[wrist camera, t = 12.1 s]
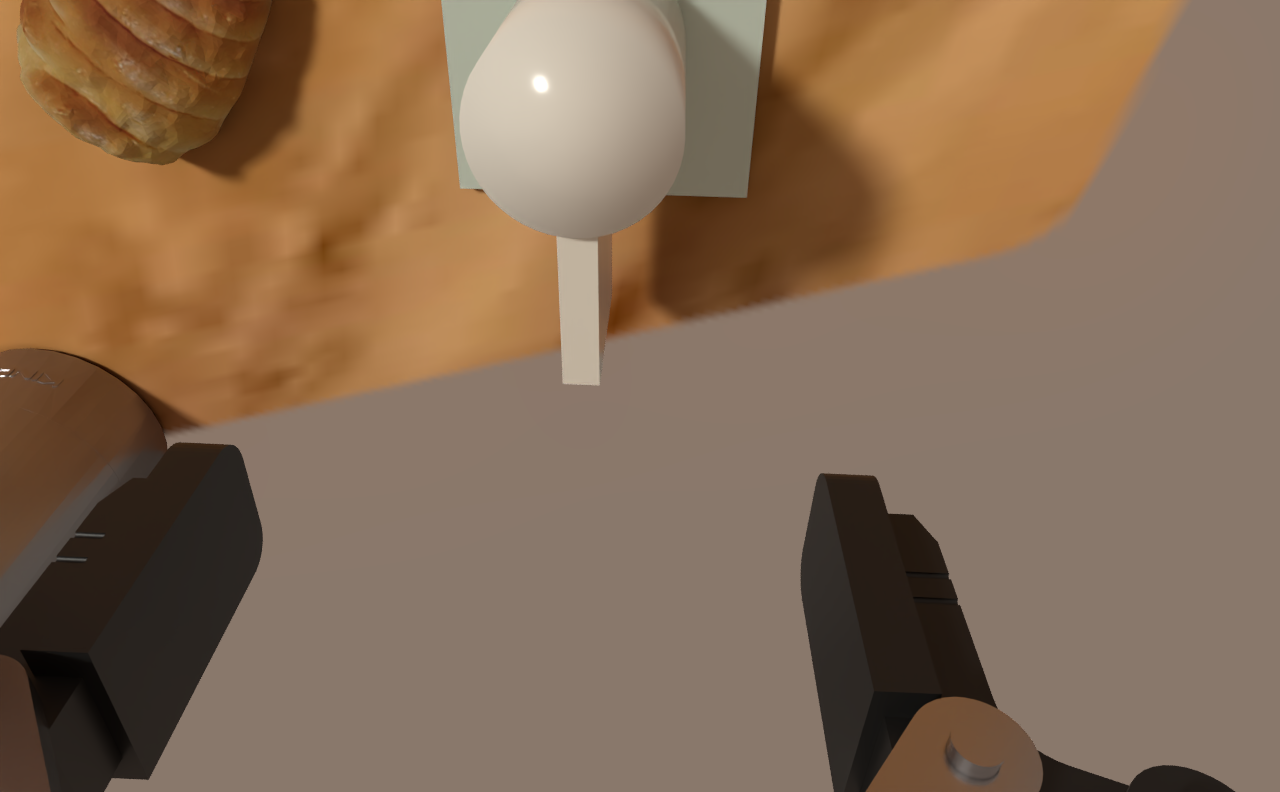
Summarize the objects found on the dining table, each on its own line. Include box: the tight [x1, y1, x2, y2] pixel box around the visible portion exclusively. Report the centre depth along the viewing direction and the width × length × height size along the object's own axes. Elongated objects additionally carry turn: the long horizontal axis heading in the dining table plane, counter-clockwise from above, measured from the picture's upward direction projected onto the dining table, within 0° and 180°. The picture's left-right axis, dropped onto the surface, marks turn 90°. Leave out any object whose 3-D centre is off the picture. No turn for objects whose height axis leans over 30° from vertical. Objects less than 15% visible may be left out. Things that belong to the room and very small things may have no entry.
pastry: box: [17, 0, 272, 165], centre depth 30 cm, size 9×7×4 cm
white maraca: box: [459, 0, 686, 385], centre depth 29 cm, size 12×6×9 cm, turn 179°
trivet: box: [441, 0, 767, 198], centre depth 31 cm, size 11×11×1 cm
